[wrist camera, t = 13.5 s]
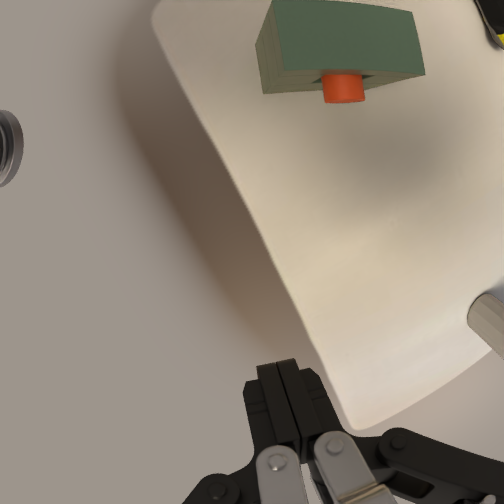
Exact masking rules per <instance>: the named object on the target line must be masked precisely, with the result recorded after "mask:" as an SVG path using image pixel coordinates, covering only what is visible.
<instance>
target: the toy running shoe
mask: <svg viewBox="0 0 504 504" xmlns="http://www.w3.org/2000/svg"><path fill="white" fill-rule="evenodd" d="M475 2H476V3H477V4H478V6H479V9H480V11H481V13H482V15H483V19H484V21H485V23H486V25H487V26H488V29H489V31H490V33H491V36H492V38H493V39H494V41H495V42H496V43H497V44H498V45H499V46H500V47H501V48H502V49H503V50H504V0H475Z"/></svg>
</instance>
